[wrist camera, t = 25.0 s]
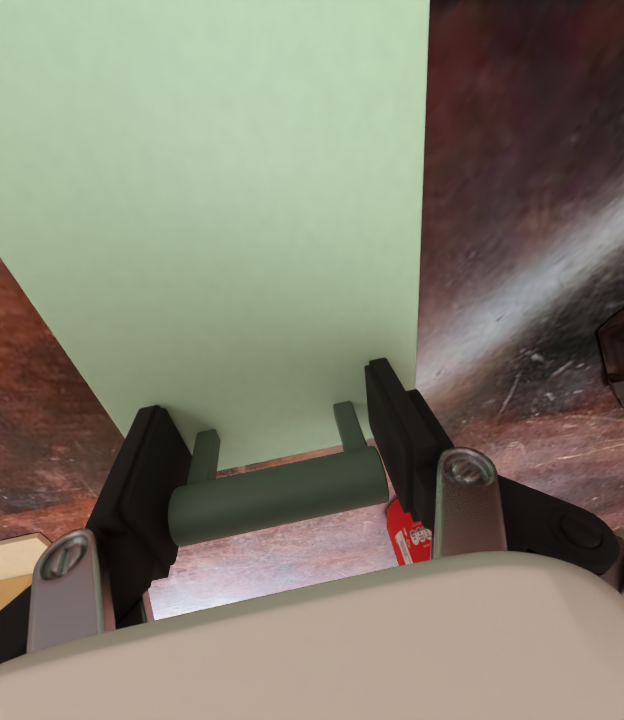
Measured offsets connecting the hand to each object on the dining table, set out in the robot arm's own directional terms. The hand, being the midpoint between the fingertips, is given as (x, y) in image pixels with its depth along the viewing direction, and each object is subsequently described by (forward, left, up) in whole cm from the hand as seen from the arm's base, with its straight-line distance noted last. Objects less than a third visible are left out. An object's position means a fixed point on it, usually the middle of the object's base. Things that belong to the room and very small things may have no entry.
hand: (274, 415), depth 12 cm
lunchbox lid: (0, +6, -1) cm, 6 cm away
